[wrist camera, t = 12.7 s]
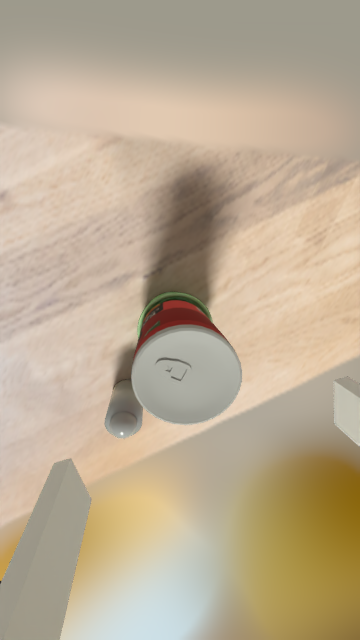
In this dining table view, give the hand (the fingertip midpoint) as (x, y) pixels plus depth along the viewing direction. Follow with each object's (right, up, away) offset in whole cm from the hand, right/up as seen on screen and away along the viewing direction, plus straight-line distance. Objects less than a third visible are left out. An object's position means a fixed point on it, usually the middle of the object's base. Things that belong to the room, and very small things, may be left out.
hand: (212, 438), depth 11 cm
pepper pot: (-9, -5, +22) cm, 24 cm away
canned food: (-2, +5, +15) cm, 16 cm away
